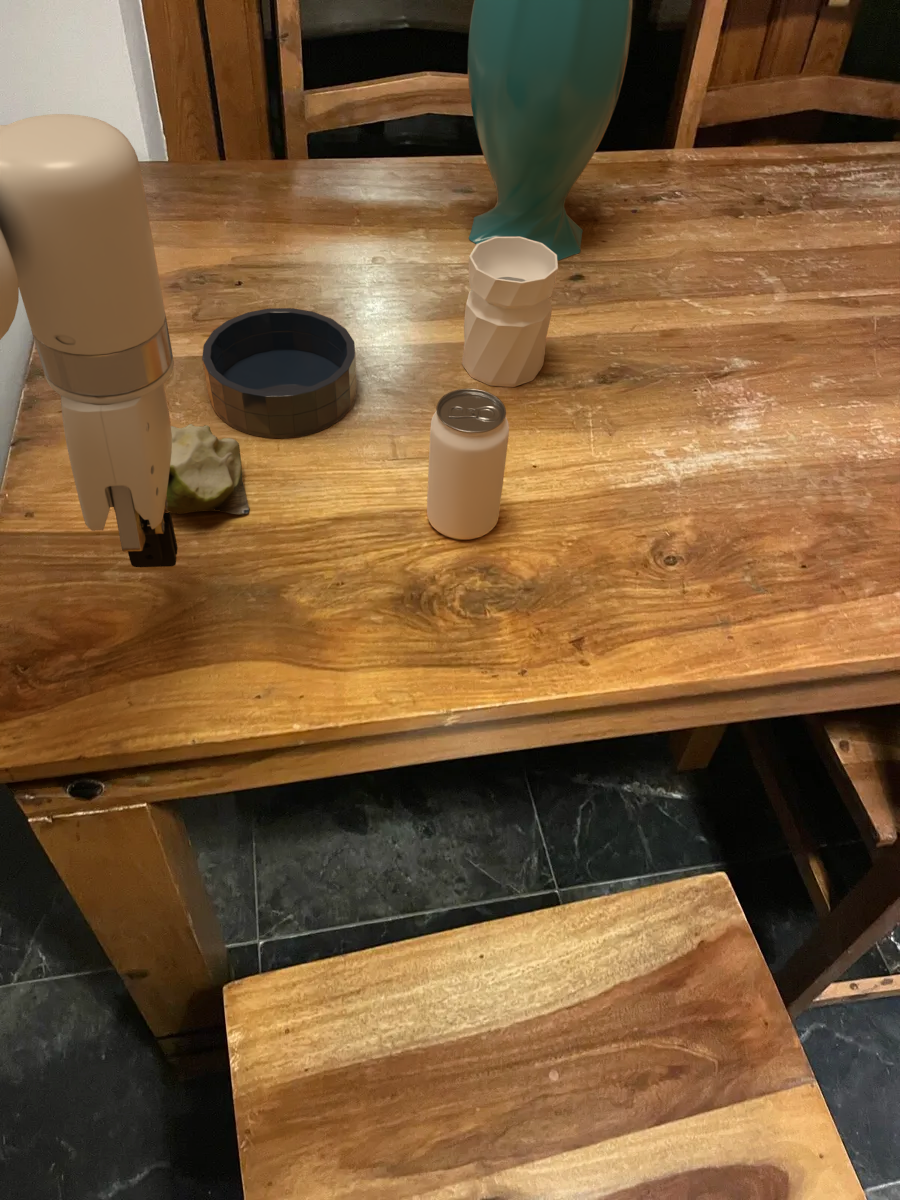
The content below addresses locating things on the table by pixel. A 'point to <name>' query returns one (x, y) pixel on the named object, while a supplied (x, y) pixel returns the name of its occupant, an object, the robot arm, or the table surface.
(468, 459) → the can
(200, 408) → the table surface
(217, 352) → the pan
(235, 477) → the fruit
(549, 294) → the vase
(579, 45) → the vase
